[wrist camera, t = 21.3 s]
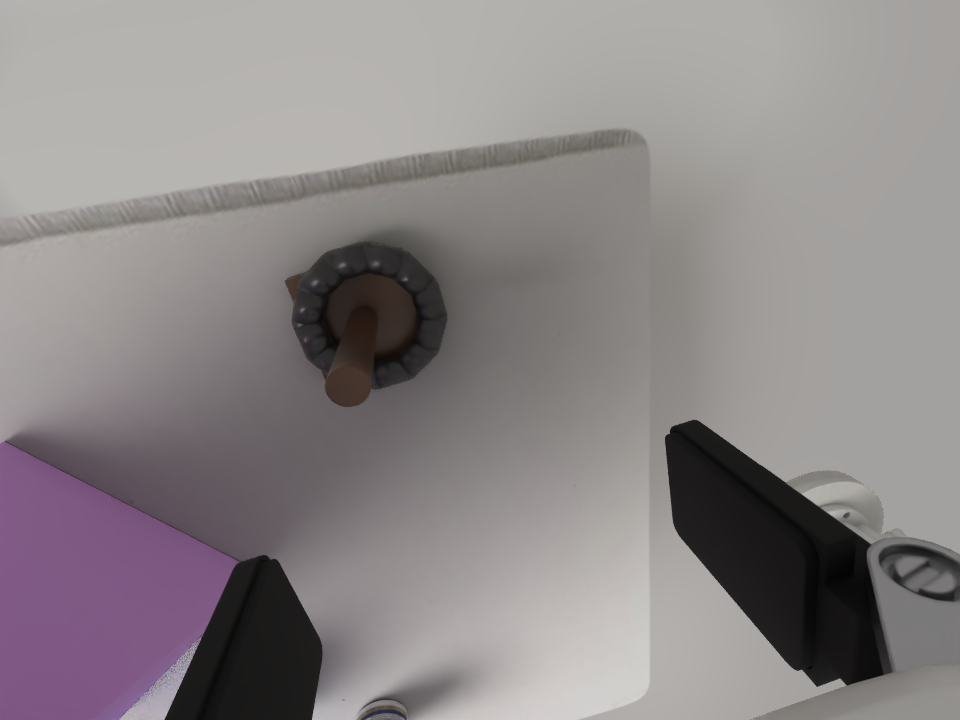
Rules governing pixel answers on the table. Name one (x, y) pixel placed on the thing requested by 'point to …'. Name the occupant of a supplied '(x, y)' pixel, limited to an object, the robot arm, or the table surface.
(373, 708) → the pill bottle
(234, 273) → the table surface
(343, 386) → the stand
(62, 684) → the purple table lamp
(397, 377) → the ring
